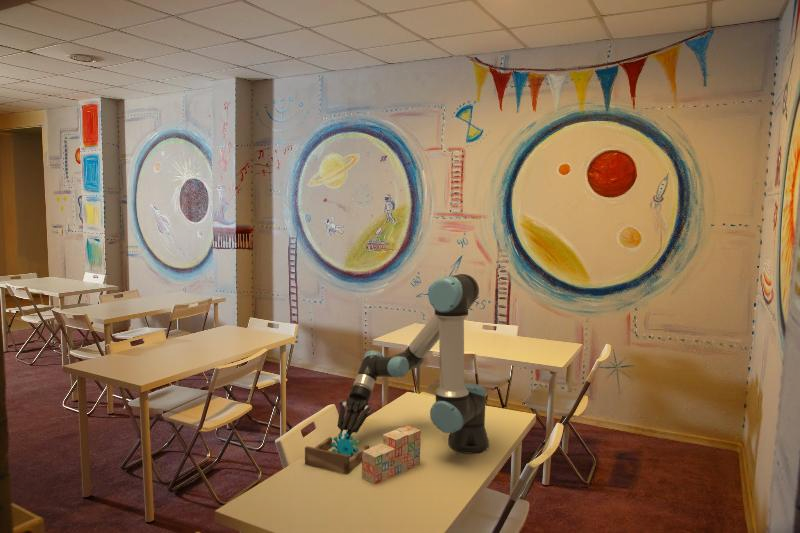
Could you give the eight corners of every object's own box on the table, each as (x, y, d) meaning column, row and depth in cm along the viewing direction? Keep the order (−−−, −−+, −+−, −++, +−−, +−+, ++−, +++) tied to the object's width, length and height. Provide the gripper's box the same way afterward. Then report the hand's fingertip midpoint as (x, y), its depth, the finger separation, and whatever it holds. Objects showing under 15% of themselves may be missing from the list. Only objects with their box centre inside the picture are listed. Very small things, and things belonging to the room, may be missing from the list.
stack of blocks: (374, 485, 169) (375, 447, 168) (361, 478, 174) (361, 441, 173) (420, 464, 185) (421, 429, 183) (407, 458, 189) (408, 424, 188)
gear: (338, 465, 180) (329, 436, 184) (331, 469, 184) (321, 441, 188) (365, 455, 187) (355, 428, 191) (357, 460, 191) (347, 433, 195)
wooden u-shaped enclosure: (329, 446, 197) (329, 430, 197) (369, 454, 191) (369, 438, 190) (304, 464, 182) (304, 447, 182) (347, 474, 176) (347, 456, 175)
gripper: (380, 396, 202) (359, 456, 188) (350, 391, 207) (327, 449, 193) (374, 386, 196) (352, 448, 183) (343, 381, 201) (319, 441, 188)
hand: (339, 449), depth 188 cm, fingers closed
